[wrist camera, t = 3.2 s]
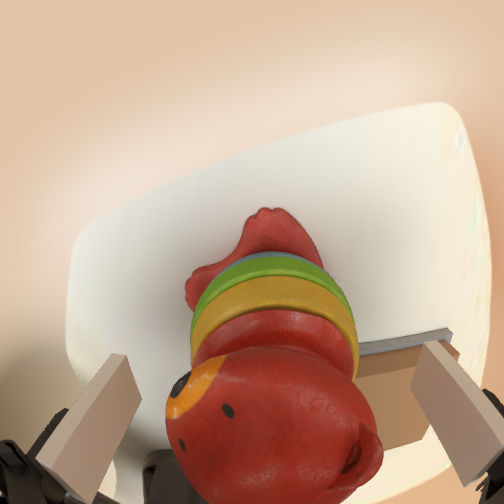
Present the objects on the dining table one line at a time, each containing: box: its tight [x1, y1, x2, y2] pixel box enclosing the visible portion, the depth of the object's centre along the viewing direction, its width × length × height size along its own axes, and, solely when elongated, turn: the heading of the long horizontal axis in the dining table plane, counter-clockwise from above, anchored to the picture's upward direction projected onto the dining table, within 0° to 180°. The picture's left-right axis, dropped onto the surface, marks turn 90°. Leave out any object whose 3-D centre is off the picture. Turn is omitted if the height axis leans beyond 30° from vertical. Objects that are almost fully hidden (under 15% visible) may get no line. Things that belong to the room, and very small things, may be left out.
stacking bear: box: [165, 208, 384, 504], centre depth 13 cm, size 11×10×18 cm
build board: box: [353, 328, 460, 451], centre depth 23 cm, size 16×14×4 cm
